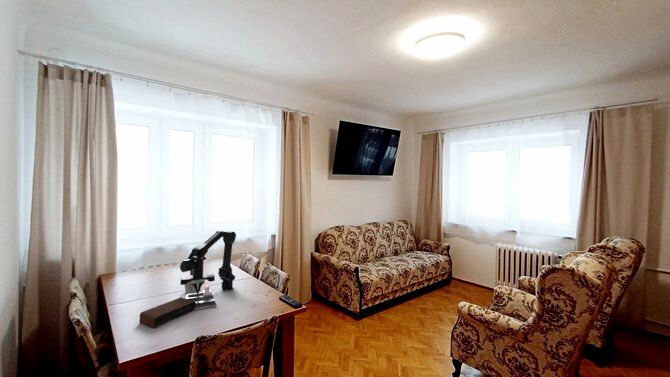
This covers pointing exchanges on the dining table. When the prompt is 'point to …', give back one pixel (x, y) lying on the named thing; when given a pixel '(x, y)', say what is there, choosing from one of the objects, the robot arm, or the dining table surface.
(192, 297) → the breaker panel
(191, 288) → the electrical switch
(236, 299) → the dining table surface
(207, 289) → the breaker lever
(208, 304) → the rounded grey rails
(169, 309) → the dark wooden block
